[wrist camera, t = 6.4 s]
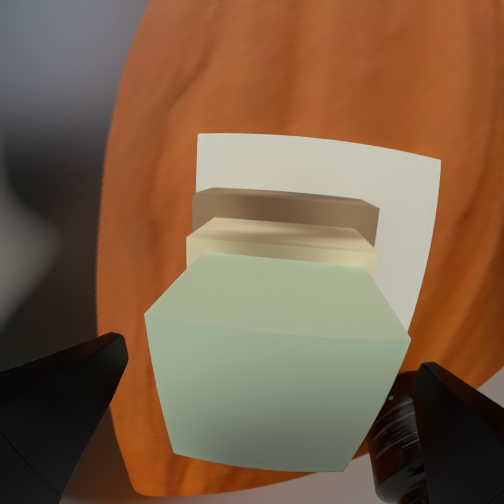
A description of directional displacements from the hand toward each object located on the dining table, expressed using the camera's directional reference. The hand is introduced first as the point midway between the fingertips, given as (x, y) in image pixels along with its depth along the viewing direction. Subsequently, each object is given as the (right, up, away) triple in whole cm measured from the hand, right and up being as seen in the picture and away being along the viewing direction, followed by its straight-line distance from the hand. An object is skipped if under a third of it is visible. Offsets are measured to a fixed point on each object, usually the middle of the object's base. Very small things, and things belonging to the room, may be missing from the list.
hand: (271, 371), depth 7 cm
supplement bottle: (+12, -9, +11) cm, 18 cm away
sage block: (0, +1, +2) cm, 2 cm away
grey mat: (+3, +4, +8) cm, 10 cm away
